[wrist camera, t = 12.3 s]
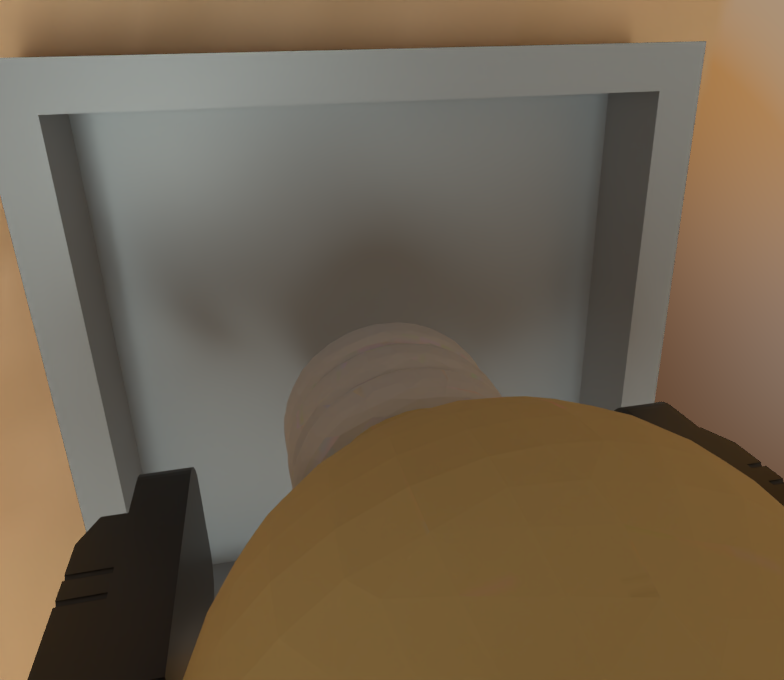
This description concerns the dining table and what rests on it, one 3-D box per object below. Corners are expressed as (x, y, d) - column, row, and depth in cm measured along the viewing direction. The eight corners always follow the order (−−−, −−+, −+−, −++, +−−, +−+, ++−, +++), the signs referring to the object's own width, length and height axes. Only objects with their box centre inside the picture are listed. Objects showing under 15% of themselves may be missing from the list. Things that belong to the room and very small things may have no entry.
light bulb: (136, 455, 12) (-214, 1749, 3) (345, 160, 11) (963, 674, 2) (407, 583, 14) (703, 1479, 5) (600, 355, 13) (1417, 993, 4)
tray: (632, 46, 14) (706, 41, 12) (584, 513, 18) (629, 572, 16) (17, 61, 12) (-35, 58, 9) (137, 586, 16) (120, 666, 14)
